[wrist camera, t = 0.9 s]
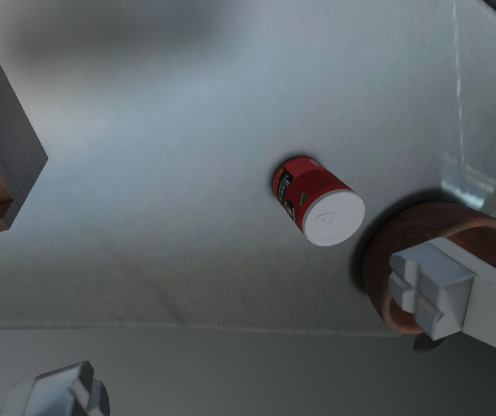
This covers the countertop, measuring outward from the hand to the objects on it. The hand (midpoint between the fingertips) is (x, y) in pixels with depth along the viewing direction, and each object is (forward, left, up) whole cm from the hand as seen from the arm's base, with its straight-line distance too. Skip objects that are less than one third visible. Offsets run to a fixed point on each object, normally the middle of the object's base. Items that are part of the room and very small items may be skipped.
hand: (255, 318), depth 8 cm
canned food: (+16, +15, -33) cm, 40 cm away
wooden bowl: (+37, +37, -33) cm, 62 cm away
